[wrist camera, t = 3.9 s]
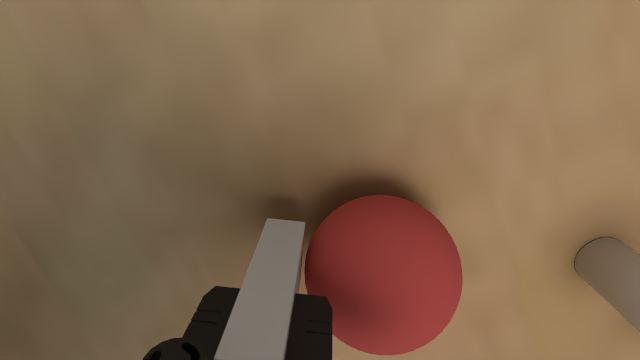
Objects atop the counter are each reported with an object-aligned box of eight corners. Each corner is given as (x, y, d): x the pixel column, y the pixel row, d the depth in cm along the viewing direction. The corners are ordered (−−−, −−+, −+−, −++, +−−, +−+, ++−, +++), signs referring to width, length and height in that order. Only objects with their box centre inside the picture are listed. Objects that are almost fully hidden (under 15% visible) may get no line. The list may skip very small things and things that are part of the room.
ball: (281, 372, 13) (454, 414, 12) (290, 221, 11) (500, 258, 10) (316, 277, 18) (436, 301, 17) (327, 166, 16) (463, 186, 15)
